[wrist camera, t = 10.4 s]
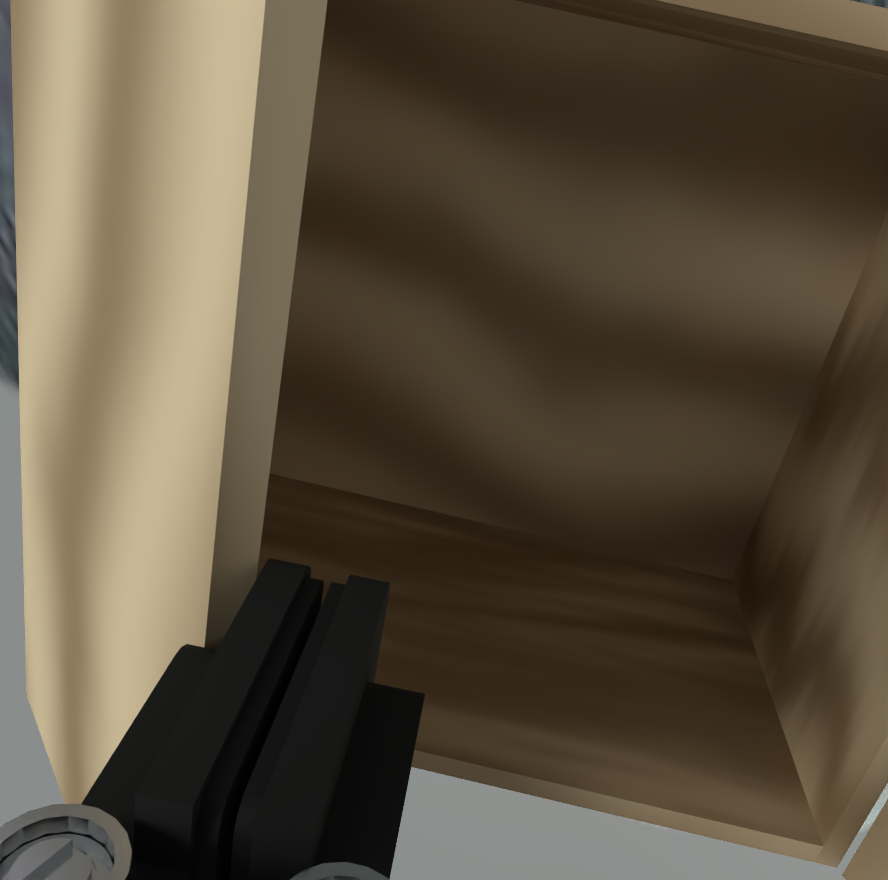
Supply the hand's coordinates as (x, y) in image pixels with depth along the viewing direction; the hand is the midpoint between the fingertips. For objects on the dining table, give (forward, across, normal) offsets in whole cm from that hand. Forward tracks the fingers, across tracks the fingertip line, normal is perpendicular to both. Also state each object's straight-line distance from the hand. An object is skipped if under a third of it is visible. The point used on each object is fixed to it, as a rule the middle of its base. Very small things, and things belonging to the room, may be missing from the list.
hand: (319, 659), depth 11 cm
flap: (+4, +4, 0) cm, 6 cm away
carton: (+20, -3, 0) cm, 20 cm away
